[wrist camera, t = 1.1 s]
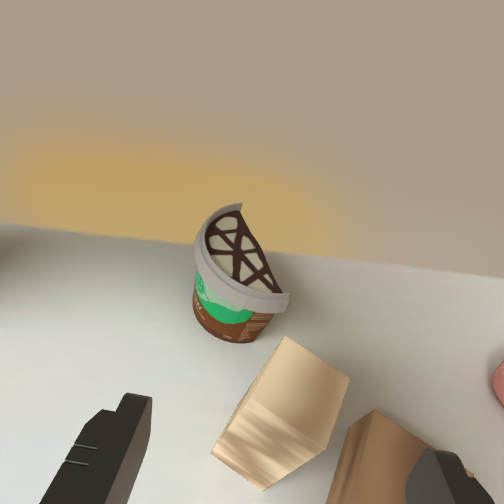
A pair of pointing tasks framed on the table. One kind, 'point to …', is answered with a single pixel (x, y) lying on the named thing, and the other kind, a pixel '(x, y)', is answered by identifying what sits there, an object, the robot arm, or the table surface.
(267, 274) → the food container
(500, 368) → the pink vase
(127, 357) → the table surface
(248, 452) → the oak post
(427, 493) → the robot arm
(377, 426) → the base block
